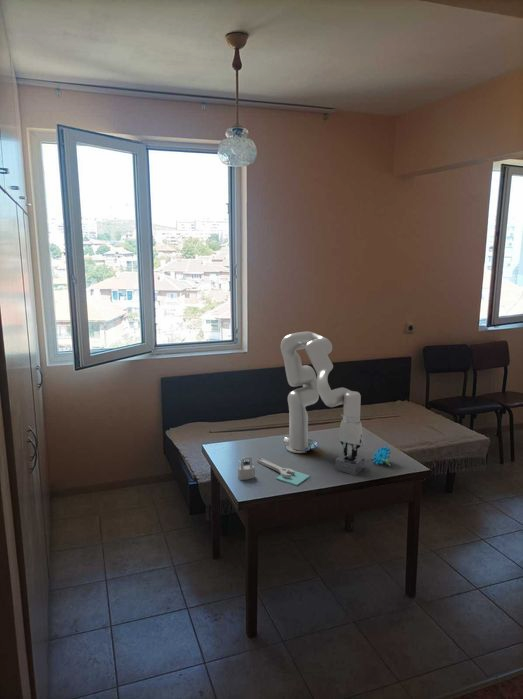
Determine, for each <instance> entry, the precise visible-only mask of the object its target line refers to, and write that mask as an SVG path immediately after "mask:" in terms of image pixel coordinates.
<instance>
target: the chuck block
mask: <svg viewBox="0 0 523 699" xmlns="http://www.w3.org/2000/svg"><path fill="white" fill-rule="evenodd" d="M346 459H347V456H344V453H343V454H340V456H338V457H337V458H335V460H334V461H335V462H334V464H335V466H334V467H335V468H334V469H335V470H336V471H338V472H339V471H340V472H342V473H345V474H348V475H349V474H351V475H354V476H356V475H357V474H358V473H359V472H361V471H362V470H363V469H364V468H365V459H366V457H363V456H360V455H357V456H356V457H355V458H354V461H349V460H346Z"/></svg>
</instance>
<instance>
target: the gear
mask: <svg viewBox="0 0 523 699" xmlns="http://www.w3.org/2000/svg"><path fill="white" fill-rule="evenodd" d="M375 451H376V452H374V453H373V457H372V460H373V461H372V462H373V463H374V464H376V465H377V466H378V465H383V464H384V463H385V464H386V465H388V466H390V467H391V466H392V465H391V464H390V462H389V460H388V459H389V458H390V455H391V453H392V451H391V449H390V448H389V447H387V446H385V445H384V446H380V449H379V448H378V449H376V450H375Z"/></svg>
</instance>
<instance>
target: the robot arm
mask: <svg viewBox="0 0 523 699" xmlns="http://www.w3.org/2000/svg"><path fill="white" fill-rule="evenodd" d="M299 350H305V352H306V355H307V357H308V359H309V360H310V363H311V364H312V366H313V367H312V366H310V365H305V364H304V365H303V364H302V363H303V362H302V359H301V356H300V355H299V353H298V352H297V351H299ZM332 351H333V344H332V342H331V340H329V338H327V337H324V336H322V335H320V334H318V333H315V332H312V331H300V332H294V333H293V332H292V333H290V334H289V333H288V334H287V335H285V336H284V337H283V338H282V340H281V342H280V352H281V355H282V358H283V362H284V369H285V375H286V380H287V383H288V385H289V386H290V387H293V388H295V387H296V389H293V390H292V391H289V393H288V395H287V403H288V404H287V406H288V411H289V414H288V415H289V417H288V418H289V426H288V428H289V429H288V430H289V433H288V435H289V437H286V436H284V438H283V443H286V445H285V450H287V452H290V453H294V454H305V453H306V452H305V451H296V450H293V449H298V450H302V449H305V448H307V447H308V444H309V442H308V440H309V435H308V434H309V415H308V414H309V413H308V411H307V409H306V407H309V406H311V405H314V404H316V403H317V402H318V400H319V397H320V399H321V401H322V402H323V403H324V405H325V406H327V407H329V408H334V407H337V406H340V405H343V413H341V414H340V417H341V418H342V419H341V421H340V426H339V432H338V437H337V441H338V442H340V444H341V445H342V447H343V454H344V456H347V443H349V444H353V448H354V449H353V450H352V458H355V457H356V456H358V449H359V448H361V447H364V446H366V444H365V442H364V439H363V425H362V421H361V404H362V403H361V398H362V395H361V394H360V392H359V391H354V390H350V389H348V388H345V387H337V388H334V389H331V387H330V384H329V382H328V381H329V380H328V377H329V374H330V372H331V371H332V370H333V369H334V364H333V362H332V361H331V359H330V358H329V354H331V353H332ZM299 386H302V387H300V388H297V387H299Z"/></svg>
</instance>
